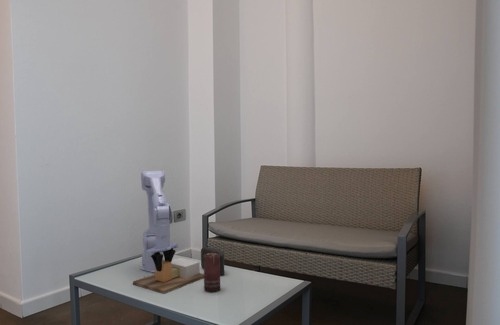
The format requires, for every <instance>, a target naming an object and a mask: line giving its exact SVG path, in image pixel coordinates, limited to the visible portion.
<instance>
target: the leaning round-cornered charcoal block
mask: <svg viewBox="0 0 500 325" xmlns="http://www.w3.org/2000/svg"><path fill="white" fill-rule="evenodd" d="M207 252H218V253H219V255H220V276H223V275H224V274H225V254H224V252H223V251H222V250H221V249H217V248H213V247H208V246H205V247H202V248H201V249H200V264H201V265H200V266H201V267H202V269H204V254H205V253H207Z"/></svg>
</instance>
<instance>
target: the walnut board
mask: <svg viewBox="0 0 500 325" xmlns="http://www.w3.org/2000/svg"><path fill="white" fill-rule="evenodd" d="M202 279H203V280H204V273H203V272H200V274H197V275H194V276H192V277H189V278H186V279H185V278H182V277H180V276H178V277H175V278H173V279H171V280H169V281H166V282H162V281H158V280H155V273H154V274H151V275H148V276H145V277H142V278H139V279H137V280H133V281H132V285H133V286H137V287H139V288H144V289H147V290H150V291H154V292H157V293H159V294H167V293H169V292H172V291H175V290H177V289H180V288H182V287H185V286H187V285H190V284H193V283H195V282H197V281H200V280H202Z"/></svg>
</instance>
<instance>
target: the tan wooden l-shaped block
mask: <svg viewBox="0 0 500 325" xmlns="http://www.w3.org/2000/svg"><path fill="white" fill-rule="evenodd" d="M154 274H155V280H158V281H162V282H166V281H169V280H171V279H173V278H175V277H178V276H180V273H179V268H176V267H171V262H169V261H165V259H164V260H162V270H161V271H157V270H156V266H155V273H154Z"/></svg>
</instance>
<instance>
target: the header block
mask: <svg viewBox="0 0 500 325" xmlns="http://www.w3.org/2000/svg"><path fill="white" fill-rule="evenodd" d="M200 266H201V265H200V262H199V261H195V260H191V259H187V258H182V257H178V258H174V259H172V261H171V267H176V268H179V273H180V277H182V278H185V279H186V278H189V277H192V276H194V275H197V274H200V273H201V272H200V271H201V270H200V269H201V267H200Z"/></svg>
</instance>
